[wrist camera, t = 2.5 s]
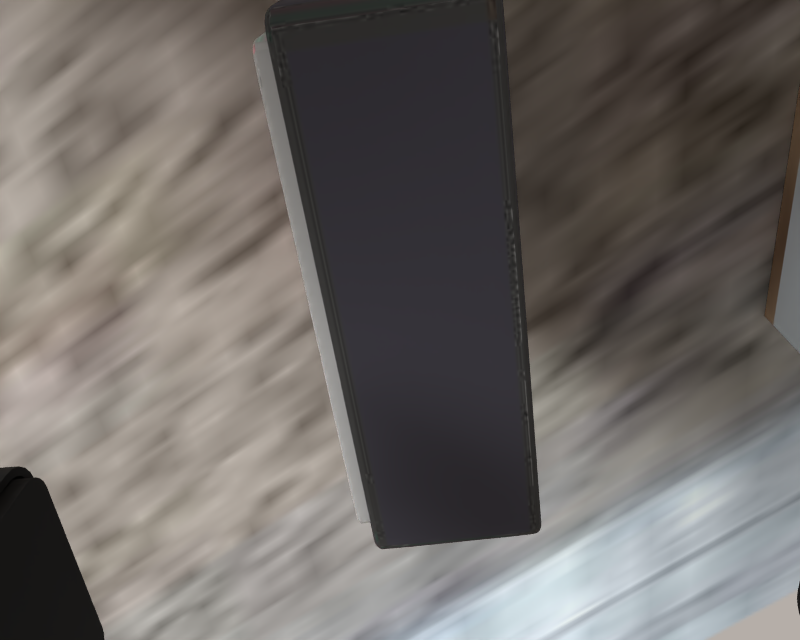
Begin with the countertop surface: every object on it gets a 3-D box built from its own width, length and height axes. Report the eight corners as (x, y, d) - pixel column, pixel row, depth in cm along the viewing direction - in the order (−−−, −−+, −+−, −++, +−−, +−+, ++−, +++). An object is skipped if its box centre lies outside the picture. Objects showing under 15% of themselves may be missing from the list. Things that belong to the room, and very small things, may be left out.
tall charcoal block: (316, -31, 24) (205, 16, 11) (448, -52, 24) (502, -30, 10) (371, 274, 29) (341, 564, 16) (479, 260, 29) (544, 543, 15)
